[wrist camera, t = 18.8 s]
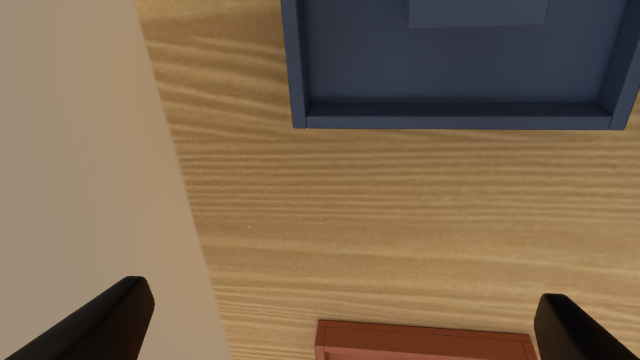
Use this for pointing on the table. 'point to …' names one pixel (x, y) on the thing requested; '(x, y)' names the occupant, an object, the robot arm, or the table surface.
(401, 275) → the table surface
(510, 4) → the slate block
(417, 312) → the table surface
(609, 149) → the table surface
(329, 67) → the slate tray
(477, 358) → the terracotta tray
